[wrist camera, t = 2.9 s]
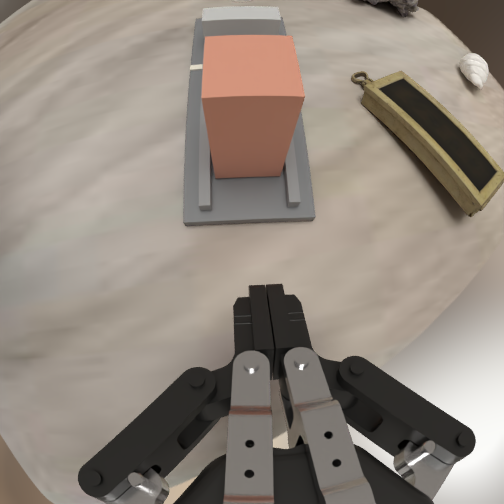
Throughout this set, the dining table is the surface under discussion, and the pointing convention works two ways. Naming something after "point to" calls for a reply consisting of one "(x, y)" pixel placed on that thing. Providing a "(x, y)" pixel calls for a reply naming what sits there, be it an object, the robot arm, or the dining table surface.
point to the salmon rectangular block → (250, 102)
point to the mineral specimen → (400, 5)
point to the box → (434, 138)
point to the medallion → (241, 0)
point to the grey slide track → (198, 149)
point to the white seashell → (474, 69)
